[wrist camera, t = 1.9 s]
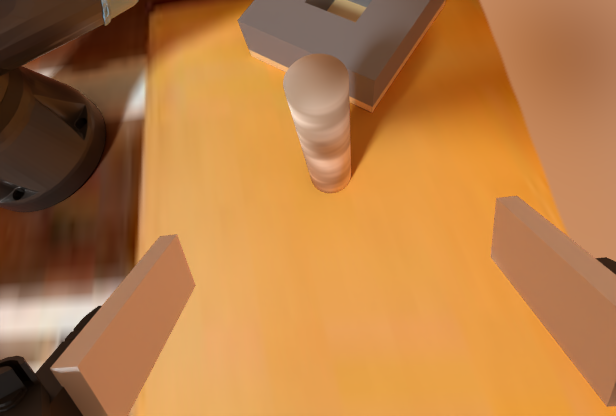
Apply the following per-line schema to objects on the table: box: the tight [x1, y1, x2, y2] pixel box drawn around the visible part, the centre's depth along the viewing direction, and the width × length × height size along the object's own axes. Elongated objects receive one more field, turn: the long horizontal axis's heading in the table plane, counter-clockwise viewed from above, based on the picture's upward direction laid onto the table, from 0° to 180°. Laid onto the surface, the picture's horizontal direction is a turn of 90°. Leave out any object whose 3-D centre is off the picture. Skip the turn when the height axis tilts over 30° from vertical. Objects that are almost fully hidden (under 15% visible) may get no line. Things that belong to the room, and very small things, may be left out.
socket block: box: [238, 0, 446, 113], centre depth 37 cm, size 16×16×5 cm
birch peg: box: [283, 54, 351, 193], centre depth 27 cm, size 4×4×14 cm
